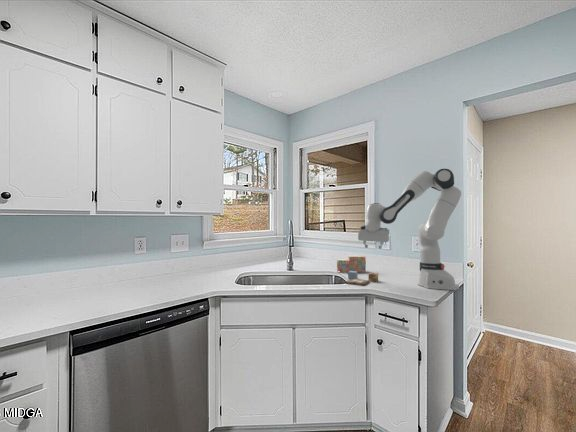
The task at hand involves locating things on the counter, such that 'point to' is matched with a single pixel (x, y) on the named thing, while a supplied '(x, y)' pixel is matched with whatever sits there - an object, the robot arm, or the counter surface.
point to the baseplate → (357, 282)
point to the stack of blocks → (352, 264)
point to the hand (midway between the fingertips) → (373, 248)
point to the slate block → (353, 275)
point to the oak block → (373, 277)
